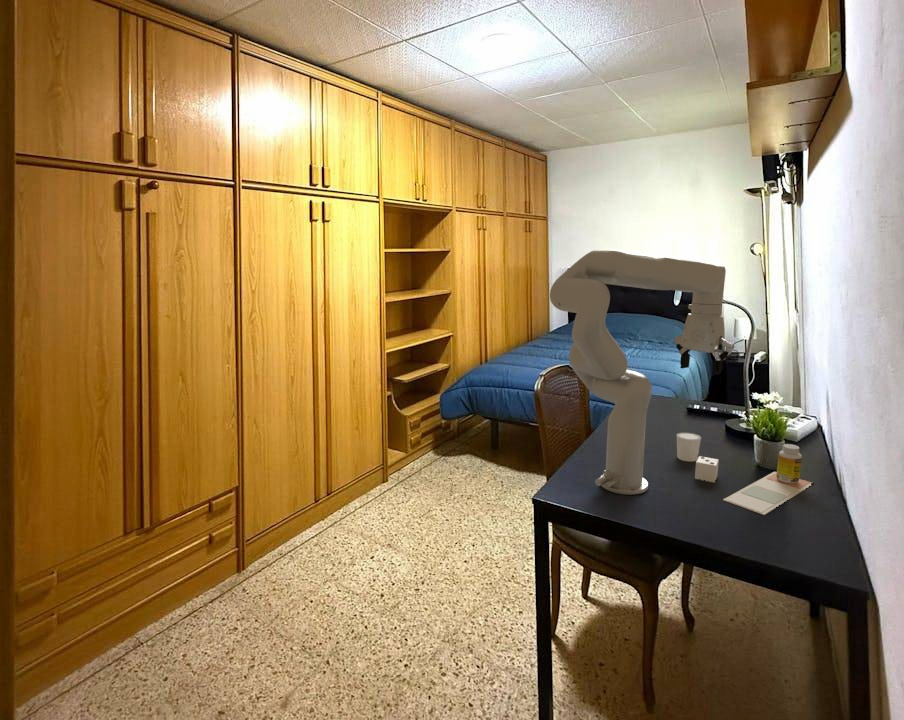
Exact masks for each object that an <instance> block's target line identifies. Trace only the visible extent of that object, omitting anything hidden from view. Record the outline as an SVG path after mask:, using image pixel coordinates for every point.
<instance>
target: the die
mask: <svg viewBox="0 0 904 720" xmlns="http://www.w3.org/2000/svg"><path fill="white" fill-rule="evenodd" d="M719 460H720V459H717V458H713V457H707V456H702V455H698V458H697V460H696V461H695V470H694V471H695V473H694V479H695V480H699V479H700V480H699V481H704V480H705V481H704V482H709V483H713V484H714V483H716V481H715V480H717V477H718V472H719V462H720V461H719Z"/></svg>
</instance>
